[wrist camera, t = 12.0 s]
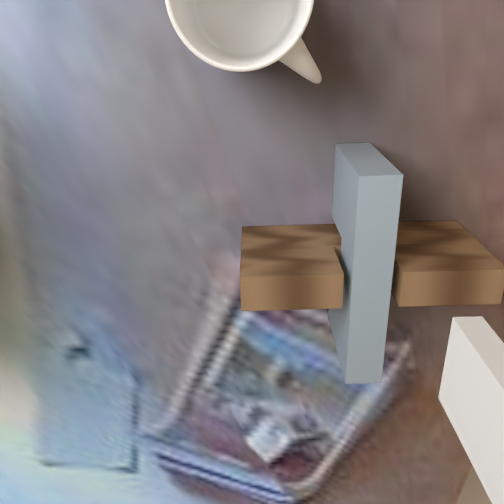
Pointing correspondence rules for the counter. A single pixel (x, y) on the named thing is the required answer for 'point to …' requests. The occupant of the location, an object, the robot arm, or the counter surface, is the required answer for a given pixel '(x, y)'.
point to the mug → (246, 33)
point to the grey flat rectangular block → (364, 256)
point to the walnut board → (332, 277)
